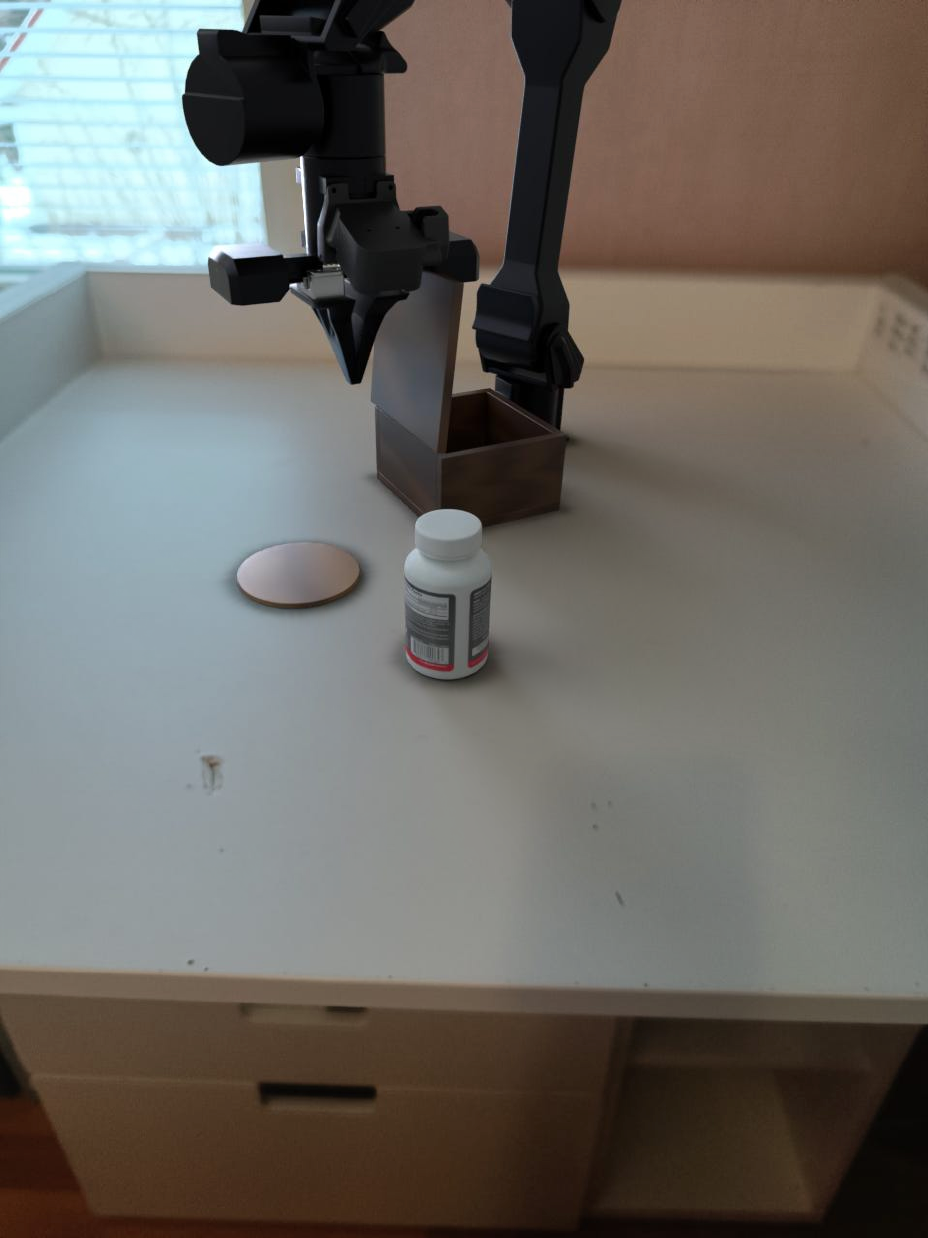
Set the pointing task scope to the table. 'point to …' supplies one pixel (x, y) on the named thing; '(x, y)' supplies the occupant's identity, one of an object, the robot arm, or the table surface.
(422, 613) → the pill bottle
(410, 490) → the chest
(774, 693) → the table surface
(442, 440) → the chest lid
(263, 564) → the coaster
